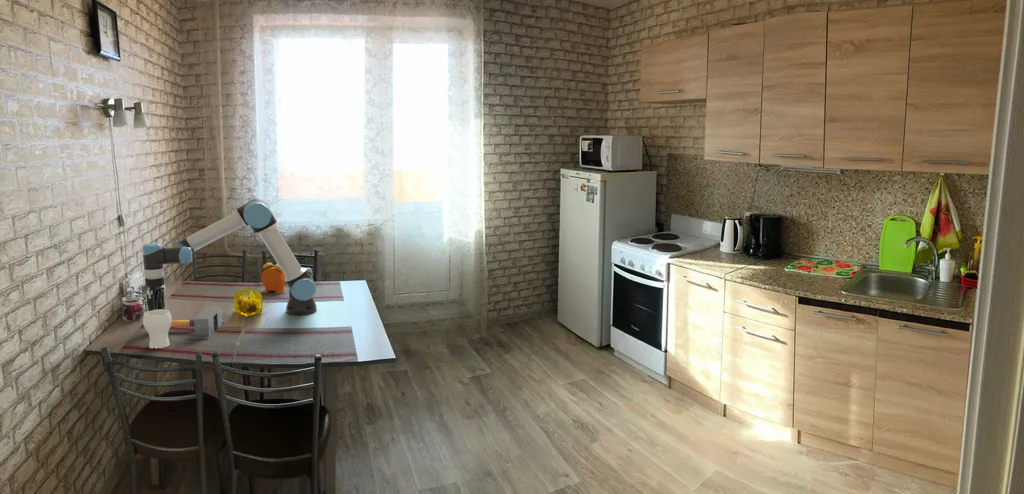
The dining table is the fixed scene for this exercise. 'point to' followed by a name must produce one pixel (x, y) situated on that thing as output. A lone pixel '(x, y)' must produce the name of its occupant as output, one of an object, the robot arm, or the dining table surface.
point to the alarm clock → (273, 278)
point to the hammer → (182, 323)
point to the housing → (207, 322)
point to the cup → (158, 327)
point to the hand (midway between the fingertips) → (158, 326)
